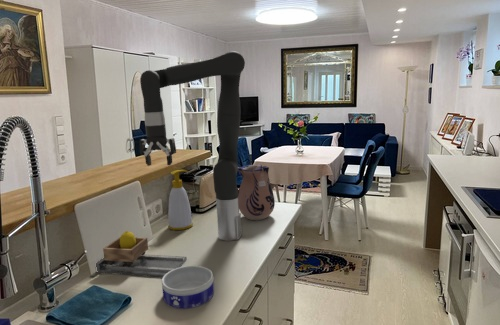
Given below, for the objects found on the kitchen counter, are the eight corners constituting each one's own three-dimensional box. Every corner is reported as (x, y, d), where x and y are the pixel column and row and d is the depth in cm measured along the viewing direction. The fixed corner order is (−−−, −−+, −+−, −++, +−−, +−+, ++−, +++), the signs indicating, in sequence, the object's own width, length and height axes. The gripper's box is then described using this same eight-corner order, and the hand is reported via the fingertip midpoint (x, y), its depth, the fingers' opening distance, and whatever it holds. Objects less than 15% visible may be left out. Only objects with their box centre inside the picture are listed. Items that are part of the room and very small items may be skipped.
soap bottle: (197, 226, 171) (193, 170, 166) (174, 232, 165) (169, 174, 160) (187, 220, 180) (183, 167, 175) (164, 225, 174) (159, 170, 169)
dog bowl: (221, 285, 118) (220, 267, 117) (202, 312, 104) (200, 292, 102) (178, 280, 122) (176, 263, 121) (153, 306, 108) (151, 286, 107)
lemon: (123, 249, 136) (120, 228, 135) (138, 248, 137) (136, 227, 135) (119, 256, 131) (116, 234, 129) (135, 254, 131) (132, 233, 130)
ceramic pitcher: (276, 222, 171) (274, 169, 166) (230, 224, 172) (227, 171, 167) (274, 211, 188) (272, 162, 184) (232, 212, 189) (229, 164, 184)
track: (186, 259, 137) (185, 250, 137) (170, 277, 124) (169, 268, 123) (118, 255, 143) (117, 247, 143) (96, 272, 130) (95, 263, 129)
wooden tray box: (148, 253, 138) (147, 237, 137) (133, 267, 128) (131, 250, 127) (122, 252, 141) (120, 236, 140) (105, 265, 130) (103, 248, 129)
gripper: (176, 122, 146) (179, 163, 149) (142, 123, 149) (147, 163, 152) (168, 124, 138) (172, 166, 141) (133, 125, 141) (138, 167, 144)
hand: (159, 165), depth 146 cm, fingers open, 8 cm apart
